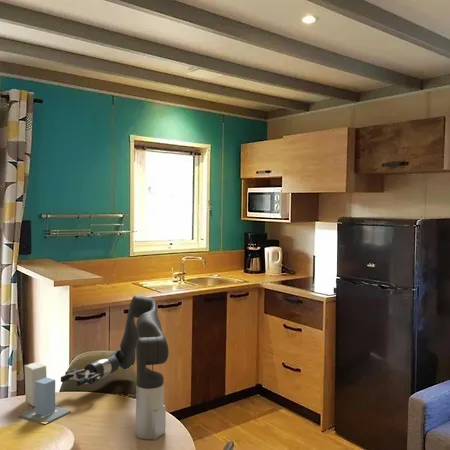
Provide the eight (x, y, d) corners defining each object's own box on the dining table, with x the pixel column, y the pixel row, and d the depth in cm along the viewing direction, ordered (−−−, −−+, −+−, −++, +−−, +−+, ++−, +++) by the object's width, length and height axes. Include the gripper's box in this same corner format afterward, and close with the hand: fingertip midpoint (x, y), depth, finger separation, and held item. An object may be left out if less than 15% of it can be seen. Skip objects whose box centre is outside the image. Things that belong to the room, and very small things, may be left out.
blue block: (55, 411, 178) (55, 379, 178) (44, 416, 174) (44, 384, 173) (45, 408, 180) (45, 377, 180) (34, 413, 176) (35, 381, 176)
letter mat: (70, 412, 179) (70, 410, 179) (45, 424, 168) (45, 422, 168) (44, 404, 186) (44, 403, 185) (18, 416, 175) (18, 414, 175)
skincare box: (47, 403, 187) (47, 366, 186) (32, 407, 183) (32, 369, 182) (39, 397, 193) (39, 360, 192) (23, 401, 189) (24, 364, 188)
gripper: (85, 358, 205) (56, 369, 190) (111, 363, 198) (82, 375, 184) (85, 375, 205) (56, 387, 191) (110, 381, 198) (82, 394, 184)
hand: (69, 381), depth 187 cm, fingers open, 8 cm apart
